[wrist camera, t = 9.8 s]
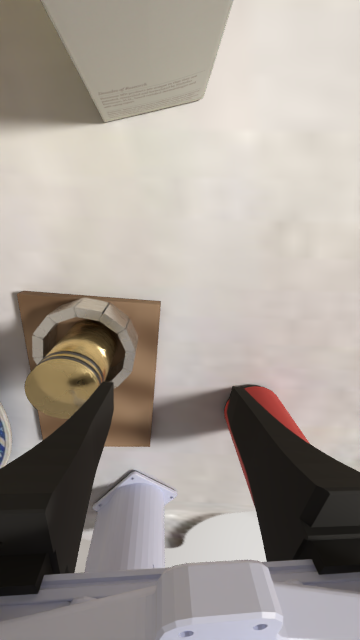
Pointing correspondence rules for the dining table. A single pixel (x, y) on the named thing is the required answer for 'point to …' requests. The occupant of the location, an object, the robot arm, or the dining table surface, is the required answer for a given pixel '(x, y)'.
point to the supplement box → (141, 49)
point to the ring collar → (95, 311)
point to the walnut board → (137, 388)
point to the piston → (72, 369)
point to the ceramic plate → (4, 437)
